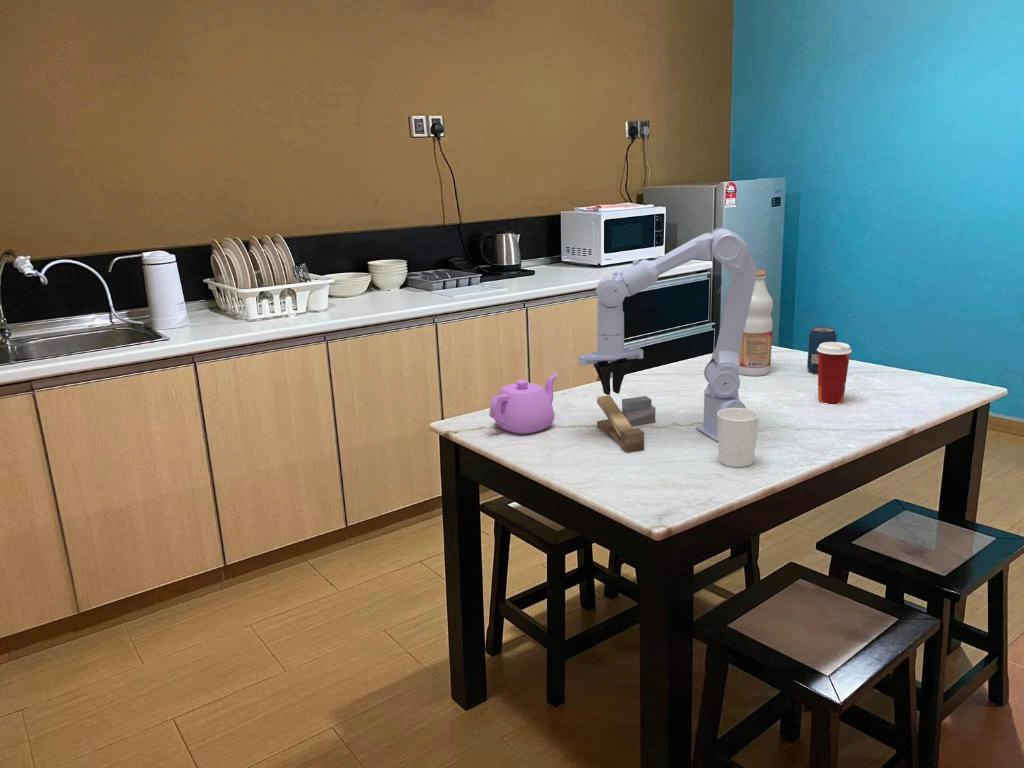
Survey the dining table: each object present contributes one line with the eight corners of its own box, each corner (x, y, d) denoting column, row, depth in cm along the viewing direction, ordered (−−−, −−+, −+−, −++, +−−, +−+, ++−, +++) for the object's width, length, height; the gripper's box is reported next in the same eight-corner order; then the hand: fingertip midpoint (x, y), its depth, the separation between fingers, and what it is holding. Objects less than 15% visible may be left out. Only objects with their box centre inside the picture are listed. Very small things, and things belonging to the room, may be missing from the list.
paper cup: (854, 403, 189) (859, 346, 185) (829, 408, 186) (833, 350, 182) (830, 394, 196) (834, 339, 192) (806, 399, 193) (809, 343, 189)
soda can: (815, 367, 220) (818, 325, 216) (839, 371, 215) (842, 328, 211) (801, 372, 216) (804, 329, 212) (825, 377, 210) (828, 333, 207)
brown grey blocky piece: (686, 443, 169) (687, 425, 168) (626, 452, 165) (626, 434, 164) (649, 418, 185) (649, 402, 184) (594, 426, 181) (593, 410, 180)
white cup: (749, 452, 162) (751, 406, 159) (762, 467, 154) (764, 419, 152) (711, 455, 162) (712, 408, 159) (722, 469, 154) (723, 421, 151)
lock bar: (651, 407, 181) (651, 399, 180) (627, 411, 179) (627, 402, 179) (645, 404, 184) (645, 395, 183) (622, 407, 182) (621, 399, 182)
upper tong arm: (634, 437, 169) (635, 431, 168) (621, 439, 168) (622, 433, 167) (609, 400, 180) (609, 395, 179) (597, 402, 179) (597, 396, 178)
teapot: (577, 422, 185) (576, 376, 182) (510, 443, 174) (508, 395, 171) (540, 409, 196) (538, 366, 192) (475, 429, 184) (472, 383, 181)
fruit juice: (727, 371, 220) (730, 271, 212) (751, 365, 224) (755, 267, 216) (753, 378, 212) (758, 275, 204) (777, 372, 217) (782, 270, 209)
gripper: (633, 326, 176) (633, 384, 180) (572, 333, 172) (574, 392, 176) (647, 332, 169) (647, 392, 173) (584, 339, 166) (586, 401, 169)
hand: (611, 393), depth 174 cm, fingers closed
